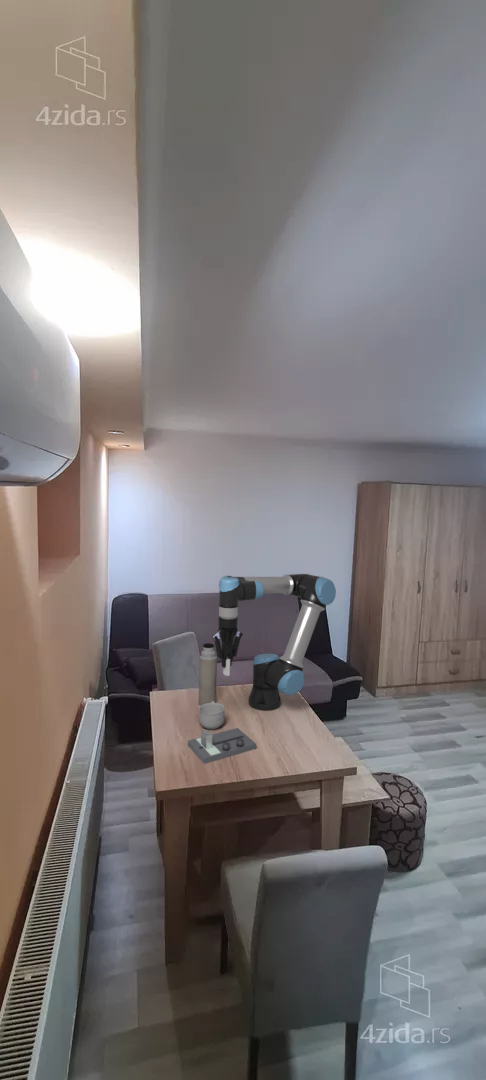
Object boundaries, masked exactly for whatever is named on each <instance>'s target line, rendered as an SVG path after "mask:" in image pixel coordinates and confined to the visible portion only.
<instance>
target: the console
mask: <svg viewBox="0 0 486 1080" xmlns="http://www.w3.org/2000/svg"><path fill="white" fill-rule="evenodd" d="M211 734H212V748H208V749H206V748H205V747H204V746H203V745H202V744H201V736H200V737H197V738H193V739H190V740H189V739H188V740H187V747H189V748H190V750H191V751H192V752H193V753H194V754H195V756H196V757H198V759H199V760H200V761H201V762H202V763H203V765H205V764H208V763H212V762H215V761H219V760H222V759H226V758H229V757H232V756H236V755H239V754H243V753H246V751H247V752H250V751H253V750H257V743H256V742H255V741H254V740H252V739H251V738H250V737H249V736H248V735H246V734H245V732H244V731H242V730H241V729H240V728H239V727H236V728H232V729H228V730H225V731H220V732H217V733H211Z"/></svg>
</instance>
